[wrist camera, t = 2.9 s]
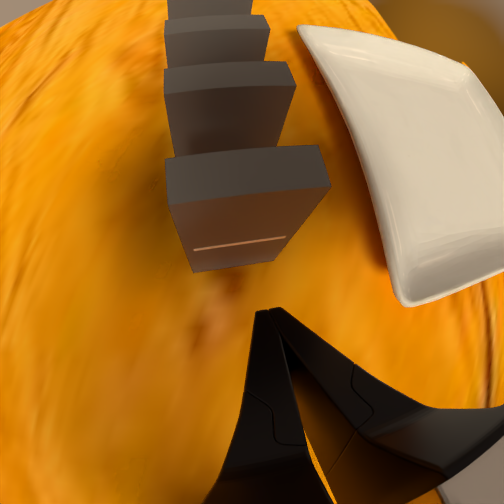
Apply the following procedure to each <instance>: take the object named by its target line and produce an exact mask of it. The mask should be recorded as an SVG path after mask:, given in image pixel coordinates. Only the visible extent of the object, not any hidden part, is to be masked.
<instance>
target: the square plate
mask: <svg viewBox="0 0 504 504" xmlns="http://www.w3.org/2000/svg"><path fill="white" fill-rule="evenodd" d="M297 31H298V33H299V35H300V37H301V39H302V41H303V42H304V44H305V45H306V47H307V49H308V50H309V52H310V54H311V56H312V58H313V60H314V62H315V63H316V65H317V67H318V69H319V71H320V73H321V75H322V76H323V78H324V80H325V82H326V84H327V86H328V88H329V89H330V91H331V94H332V96H333V98H334V100H335V102H336V104H337V106H338V108H339V110H340V112H341V115H342V117H343V119H344V121H345V124H346V126H347V128H348V130H349V133H350V136H351V138H352V141H353V144H354V147H355V149H356V152H357V155H358V158H359V161H360V164H361V167H362V170H363V173H364V176H365V179H366V182H367V185H368V189H369V192H370V196H371V200H372V203H373V207H374V211H375V215H376V219H377V223H378V227H379V231H380V235H381V239H382V244H383V248H384V253H385V258H386V262H387V267H388V272H389V276H390V280H391V284H392V289H393V293H394V295H395V297H396V298H397V299H398V301H400V303H401V304H402V305H403V306H404V307H415V306H418V305H422V304H425V303H429V302H432V301H435V300H438V299H441V298H443V297H445V296H448V295H450V294H452V293H455V292H457V291H460V290H462V289H465V288H467V287H469V286H472V285H474V284H476V283H479V282H481V281H483V280H486V279H488V278H490V277H492V276H494V275H497V274H499V273H501V272H504V117H503V115H502V114H501V112H500V110H499V109H498V107H497V106H496V104H495V102H494V101H493V100H492V98H491V96H490V95H489V94H488V92H487V91H486V89H485V88H484V86H483V85H482V84H481V82H480V81H479V80H478V78H477V77H476V75H475V74H474V73H473V72H472V71H471V69H470V68H468V67H467V66H465V65H463V64H461V63H458V62H456V61H454V60H451V59H449V58H447V57H444V56H442V55H439V54H437V53H434V52H431V51H429V50H426V49H423V48H420V47H417V46H414V45H411V44H407V43H403V42H401V41H397V40H393V39H389V38H385V37H381V36H377V35H373V34H368V33H363V32H358V31H352V30H346V29H340V28H333V27H324V26H314V25H298V26H297Z"/></svg>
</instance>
